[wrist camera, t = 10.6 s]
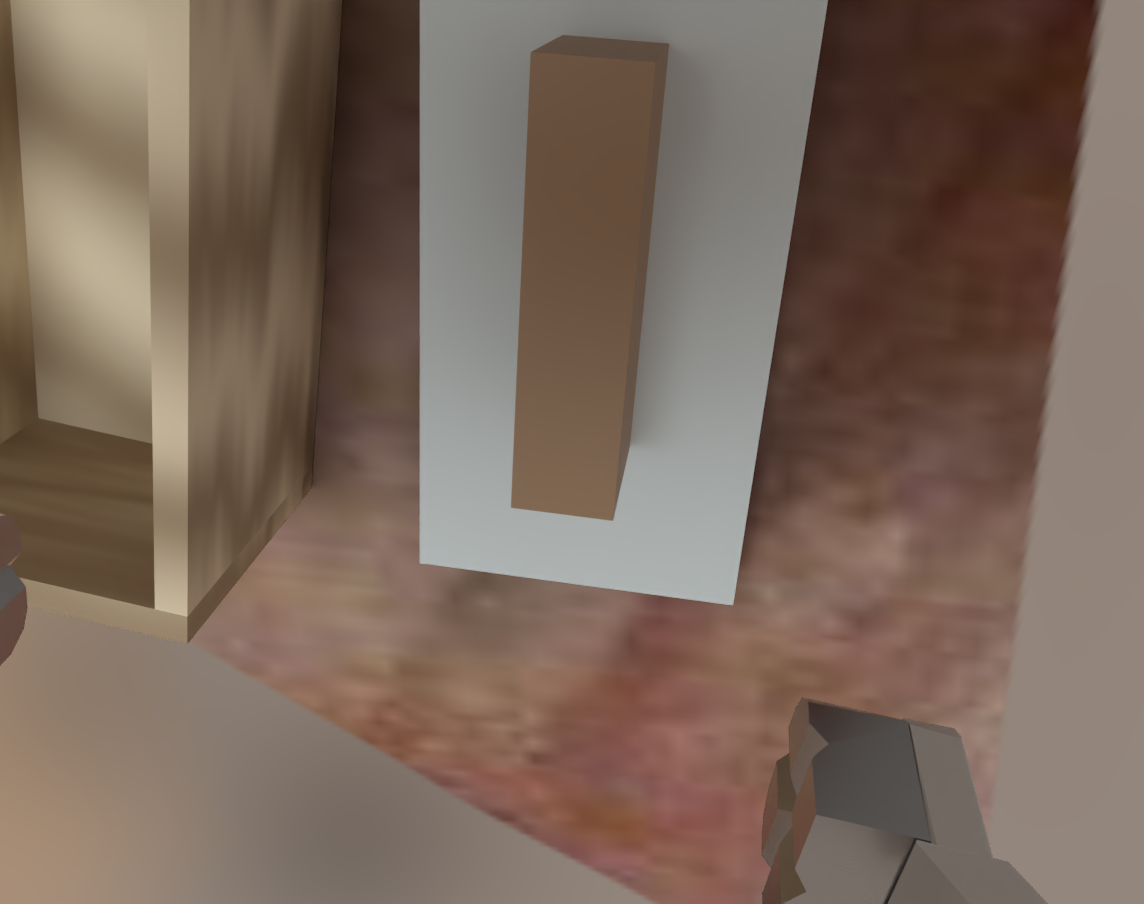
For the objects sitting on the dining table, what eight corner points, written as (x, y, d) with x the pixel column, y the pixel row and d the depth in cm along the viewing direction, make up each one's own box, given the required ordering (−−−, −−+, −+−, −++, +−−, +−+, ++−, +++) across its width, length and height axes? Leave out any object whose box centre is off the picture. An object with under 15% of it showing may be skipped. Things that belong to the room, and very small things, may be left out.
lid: (446, -197, 24) (357, -236, 19) (847, -172, 23) (879, -206, 18) (439, 525, 33) (376, 645, 27) (733, 564, 32) (730, 696, 26)
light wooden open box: (-23, -316, 24) (-344, -422, 17) (358, -246, 24) (190, -326, 17) (30, 425, 33) (-168, 560, 26) (311, 488, 32) (187, 644, 25)
